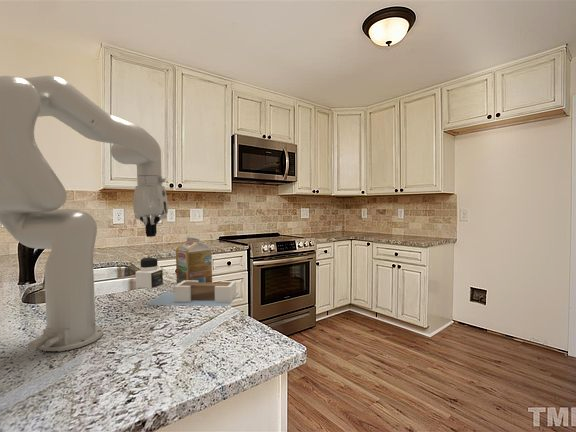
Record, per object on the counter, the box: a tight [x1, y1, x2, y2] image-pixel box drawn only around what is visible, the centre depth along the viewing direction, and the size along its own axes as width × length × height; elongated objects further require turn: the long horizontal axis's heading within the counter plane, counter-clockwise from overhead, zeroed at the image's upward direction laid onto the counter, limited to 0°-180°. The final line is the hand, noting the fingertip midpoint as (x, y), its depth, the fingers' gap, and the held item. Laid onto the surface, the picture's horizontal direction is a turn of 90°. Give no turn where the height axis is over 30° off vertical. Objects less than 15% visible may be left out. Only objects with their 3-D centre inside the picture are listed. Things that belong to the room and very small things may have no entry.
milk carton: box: [175, 236, 213, 284], centre depth 125 cm, size 11×11×19 cm
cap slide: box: [173, 280, 198, 302], centre depth 101 cm, size 8×5×5 cm, turn 176°
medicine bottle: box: [135, 256, 164, 289], centre depth 119 cm, size 7×7×12 cm
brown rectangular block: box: [180, 282, 230, 300], centre depth 101 cm, size 4×16×5 cm, turn 86°
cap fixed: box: [215, 280, 237, 303], centre depth 100 cm, size 7×5×5 cm
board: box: [144, 291, 239, 307], centre depth 101 cm, size 14×27×1 cm, turn 86°
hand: (151, 236), depth 101 cm, fingers closed
